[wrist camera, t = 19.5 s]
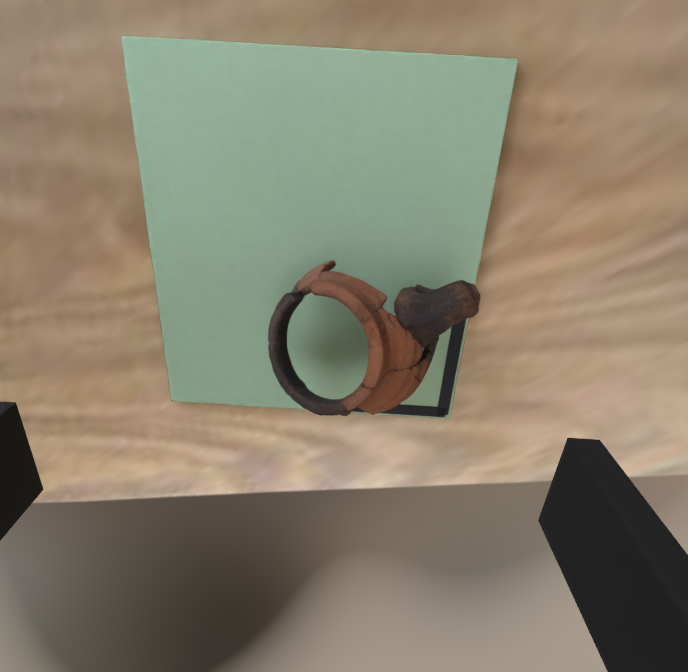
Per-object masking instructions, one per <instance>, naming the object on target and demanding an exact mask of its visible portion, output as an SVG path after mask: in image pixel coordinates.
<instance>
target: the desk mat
mask: <svg viewBox="0 0 688 672" xmlns="http://www.w3.org/2000/svg"><path fill="white" fill-rule="evenodd" d="M121 40H122V47H123V55H124V62H125V69H126V76H127V84H128V91H129V98H130V105H131V113H132V120H133V127H134V134H135V142H136V149H137V156H138V163H139V171H140V178H141V185H142V192H143V200H144V207H145V214H146V221H147V229H148V236H149V243H150V250H151V258H152V265H153V272H154V279H155V286H156V294H157V301H158V308H159V315H160V323H161V330H162V337H163V344H164V352H165V359H166V366H167V373H168V381H169V388H170V395H171V401H178V402H193V403H209V404H225V405H240V406H256V407H271V408H287V409H303V410H307V409H304V408H303V407H302V406H301V405H299V404H298V403H296V402H295V401H294V400H293V399H292V398H291V397H290V396H289V395H287V394H286V392H285V391H284V389H283V388H282V387H281V385H280V384H279V382H278V380H277V378H276V376H275V374H274V372H273V369H272V365H271V361H270V358H269V350H268V345H269V341H268V329H269V323H270V320H271V317H272V315H273V313H274V311H275V308H276V306H277V304H278V302H279V301H280V300H281V298H282V297H283V296H284V295H285V294H286V293H290V292H291V291H292V290H293V288H294V286H295V284H296V283H297V282H298V281H299V280H301V279H302V278H303V276H304V275H305V274H307V273H308V272H309V271H311V270H312V269H314V268H316V267H318V266H319V265H321V264H323V263H325V262H327V261H332V260H334V261H335V262H336V266H335V267H334V268H333V269H331V270H330V271H335V272H341V273H344V274H347V275H349V276H352V277H355V278H358V279H361V280H363V281H365V282H366V283H368V284H369V285H371V286H373V287H375V288H376V289H378V290H379V291H381V292H383V293H384V294H385V295H386V296H387V300H386V302H385V303H384V305H383V308H384V309H385V310H386V311H387V312H388V313H391V314H392V315H394V316H395V315H396V314H395V312H394V302H395V299H396V297H397V296H398V293H399V292H400V291H401V290H402V289H403V288H405V287H407V288H408V287H411V286H413V287H415V286H416V285H417V284H418V285H422V286H424V287H426V288H430V289H438V288H440V287H442V286H445V285H447V284H449V283H452V282H455V281H458V280H464V281H466V282H468V283H471V284H474V285H475V283H476V278H477V273H478V268H479V262H480V257H481V252H482V247H483V242H484V236H485V231H486V226H487V221H488V216H489V210H490V205H491V200H492V195H493V190H494V184H495V179H496V174H497V169H498V164H499V158H500V153H501V148H502V143H503V137H504V132H505V127H506V122H507V117H508V111H509V106H510V101H511V96H512V91H513V85H514V80H515V75H516V70H517V65H518V59H513V58H496V57H479V56H462V55H445V54H428V53H411V52H394V51H377V50H360V49H343V48H326V47H309V46H292V45H275V44H258V43H241V42H224V41H207V40H190V39H173V38H156V37H139V36H121ZM468 320H469V318H467V319H465V320H463V321H461V322H459V323H457V324H455V325H453V326H452V327H450V328H449V329H448V330H447V331H446V332H444V333H442V334H441V335H439V340H438V342H437V346H436V349H435V353H434V356H433V359H432V361H431V363H430V365H429V368H428V370H427V372H426V374H425V376H424V378H423V380H422V382H421V384H420V385H419V387H418V388H417V389H416V391H415V392H414V393H413V394H412V395H411V396H410V397H409V398H408V399H406V400H405V401H403V402H402V403H400V404H399V405H397V406H396V407H394V408H392V409H390V410H387V411H384V412H381V413H377V414H381V415H397V416H412V417H428V418H444V419H449V418H450V413H451V408H452V403H453V398H454V393H455V387H456V382H457V377H458V372H459V367H460V361H461V356H462V351H463V346H464V341H465V335H466V330H467V325H468ZM287 348H288V353H289V356H290V360H291V362H292V366H293V368H294V370H295V372H296V374H297V375H298V377H299V378H300V379H301V380H302V381H303V382H304V383H305V384H306V387H307V388H308V389H309V390H310V391H311V392H313V393H314V394H316V395H318V396H320V397H324V398H328V399H342V398H344V397H346V396H348V395H350V394H351V393H353V392H354V391H355V390H356V389H357V388H358V386H359V385H360V384H361V383H362V380H363V379H364V377H365V374H366V371H367V366H368V344H367V338H366V334H365V332H364V329H363V325H362V324H361V323H360V321H359V320H358V319H357V317H356V316H355V315H354V314H353V312H352V311H351V310H350V309H349V308H348V307H347V306H345V305H344V304H342V303H341V302H339V301H338V300H336V299H334V298H330V297H326V296H316V295H313V293H310V294H308V295H306V296H305V297H304V299H303V300H302V302H301V303H300V304H299V305H298V306H297V308H296V309H295V311H294V312H293V314H292V316H291V318H290V321H289V325H288V331H287ZM423 350H424V348H423ZM351 413H365V414H370V413H366V412H365V411H363V410H361V409H360V408H359V407H357V408H355V409H353V410H351Z"/></svg>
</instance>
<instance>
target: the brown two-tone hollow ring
mask: <svg viewBox="0 0 688 672" xmlns="http://www.w3.org/2000/svg"><path fill="white" fill-rule="evenodd" d="M335 266H336V262H335V261H334V260H332V261H327V262H325V263H323V264H321V265H319V266H318V267H316V268H314V269H312V270H311V271H309V272H308V273H307V274H305V275H304V276H303V278H302V279H301V280H299V281H298V282H297V283H296V284H295V286H294V288H293V290H292V291H291V292H290V293H286V294H285V295H284V296H283V297H282V298H281V300H280V301H279V302H278V304H277V306H276V308H275V311H274V313H273V315H272V317H271V320H270V323H269V329H268V341H269V345H268V350H269V358H270V361H271V365H272V369H273V372H274V374H275V376H276V378H277V380H278V382H279V384H280V385H281V387H282V388H283V389H284V391H285V392H286V394H287V395H289V396H290V397H291V398H292V399H293V400H294V401H295V402H296V403H298V404H299V405H301V406H302V407H303V408H304V409H307V410H309V411H310V412H313V413H315V414H318V415H342V416H347V415H349V414H350V413H351V410H353V409H355V408H357V407H359V408H360V409H361V410H363V411H365V412H366V413H370V414H372V415H374V414H377V413H381V412H384V411H387V410H390V409H392V408H394V407H396V406H397V405H399V404H400V403H402V402H403V401H405V400H406V399H408V398H409V397H410V396H411V395H412V394H413V393H414V392H415V391H416V389H417V388H418V387H419V385H420V384H421V382H422V380H423V378H424V376H425V374H426V372H427V370H428V368H429V365H430V363H431V361H432V359H433V356H434V353H435V349H436V346H437V342H438V340H439V335H441V334H442V333H444V332H446V331H447V330H448V329H449V328H450V327H452V326H453V325H455V324H457V323H459V322H461V321H463V320H465V319H467V318H471V317H473V316H475V315H476V314H477V313H478V309H479V300H480V294H479V292H478V290H477V288H476V286H475V285H474V284H471V283H468V282H466V281H464V280H458V281H455V282H452V283H449V284H447V285H445V286H442V287H440V288H438V289H430V288H426V287H424V286H422V285H418V284H417V285H416V286H415V287H413V286H411V287H408V288H407V287H405V288H403V289H402V290H401V291H400V292H399V293H398V296H397V297H396V299H395V302H394V312H395V314H396V315H395V316H394V315H392V314H391V313H388V312H387V311H386V310H385V309H384V308H383V305H384V303H385V302H386V300H387V296H386V295H385V294H384V293H383V292H381V291H379V290H378V289H376V288H375V287H373V286H371V285H369V284H368V283H366V282H365V281H363V280H361V279H358V278H355V277H352V276H349V275H347V274H344V273H341V272H335V271H330V270H331V269H333V268H334V267H335ZM310 293H313V295H316V296H326V297H330V298H334V299H336V300H338V301H339V302H341V303H342V304H344V305H345V306H347V307H348V308H349V309H350V310H351V311H352V312H353V314H354V315H355V316H356V317H357V319H358V320H359V321H360V323H361V324H362V325H363V329H364V332H365V334H366V338H367V344H368V366H367V371H366V374H365V377H364V379H363V380H362V383H361V384H360V385H359V386H358V388H357V389H356V390H355V391H354V392H353V393H351V394H350V395H348V396H346V397H344V398H342V399H328V398H324V397H320V396H318V395H316V394H314V393H313V392H311V391H310V390H309V389H308V388H307V387H306V384H305V383H304V382H303V381H302V380H301V379H300V378H299V377H298V375H297V374H296V372H295V370H294V368H293V366H292V362H291V360H290V356H289V353H288V348H287V331H288V325H289V321H290V318H291V316H292V314H293V312H294V311H295V309H296V308H297V306H298V305H299V304H300V303H301V302H302V300H303V299H304V297H305V296H306V295H308V294H310ZM423 348H424V350H423Z"/></svg>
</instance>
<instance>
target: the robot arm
mask: <svg viewBox="0 0 688 672" xmlns="http://www.w3.org/2000/svg"><path fill="white" fill-rule="evenodd" d="M42 490H43V487H42V484H41V480H40V477H39V474H38V471H37V468H36V465H35V462H34V458H33V455H32V452H31V449H30V446H29V443H28V439H27V436H26V433H25V430H24V427H23V424H22V420H21V417H20V414H19V411H18V408H17V405H16V403H14V402H0V540H1V539H2V538H3V536H5V534H6V533H7V532H8V531H9V530H10V528H11V527H12V526H13V525H14V524H15V522H16V521H17V520H18V519H19V517H21V515H22V514H23V513H24V512H25V510H26V509H27V508H28V507H29V506H30V505H31V503H32V502H33V501H34V500H35V499H36V498H37V496H38V495H39V494H40V493H41V492H42ZM539 523H540V525H541V527H542V530H543V532H544V534H545V536H546V538H547V540H548V543H549V545H550V547H551V549H552V551H553V553H554V556H555V558H556V560H557V562H558V564H559V567H560V568H561V571H562V573H563V575H564V577H565V580H566V582H567V584H568V586H569V588H570V591H571V593H572V595H573V597H574V599H575V601H576V603H577V606H578V608H579V610H580V612H581V614H582V617H583V619H584V621H585V623H586V625H587V628H588V630H589V632H590V634H591V636H592V638H593V641H594V643H595V645H596V647H597V649H598V651H599V654H600V656H601V658H602V660H603V662H604V665H605V667H606V669H607V671H608V672H688V555H687V553H686V552H685V551H684V550H683V548H682V547H681V546H680V544H679V543H678V542H677V540H676V539H675V538H674V536H673V535H672V534H671V533H670V531H669V530H668V529H667V527H666V526H665V525H664V523H663V522H662V521H661V520H660V518H659V517H658V516H657V514H656V513H655V512H654V510H653V509H652V508H651V506H650V505H649V504H648V503H647V501H646V500H645V499H644V497H643V496H642V495H641V494H640V492H639V491H638V489H637V488H636V487H635V486H634V484H633V483H632V482H631V480H630V479H629V478H628V476H627V475H626V474H625V472H624V471H623V470H622V469H621V467H620V466H619V465H618V463H617V462H616V461H615V459H614V458H613V457H612V456H611V454H610V453H609V452H608V450H607V449H606V448H605V446H604V445H603V444H602V442H601V441H600V440H593V439H577V438H567V441H566V444H565V447H564V450H563V452H562V455H561V458H560V461H559V464H558V466H557V469H556V472H555V475H554V478H553V480H552V483H551V486H550V489H549V492H548V495H547V498H546V500H545V503H544V506H543V509H542V511H541V514H540V517H539Z"/></svg>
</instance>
